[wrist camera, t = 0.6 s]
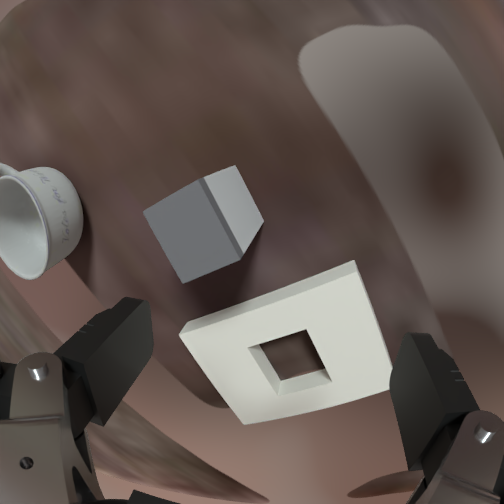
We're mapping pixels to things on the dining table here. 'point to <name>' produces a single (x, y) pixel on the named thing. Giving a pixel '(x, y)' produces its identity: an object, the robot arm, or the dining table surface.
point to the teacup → (37, 219)
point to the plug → (206, 224)
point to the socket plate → (285, 323)
